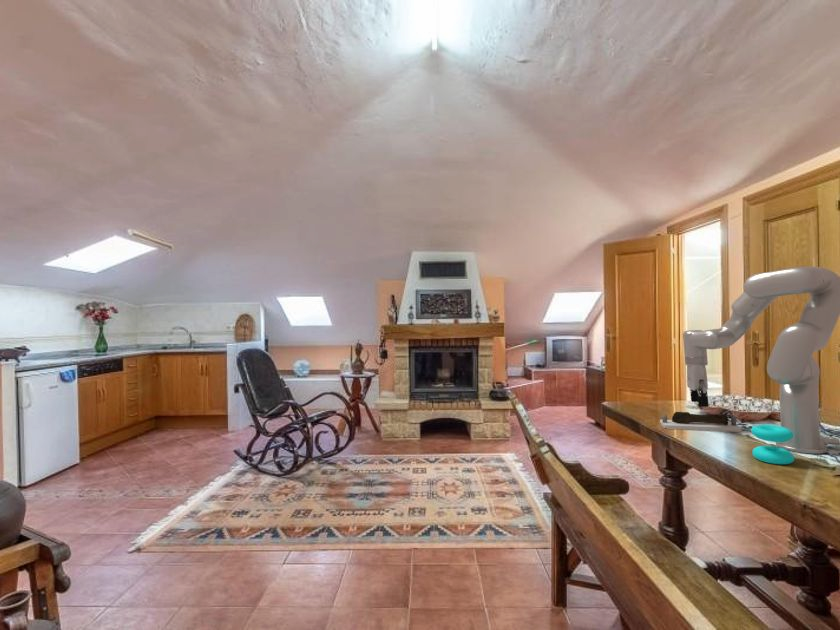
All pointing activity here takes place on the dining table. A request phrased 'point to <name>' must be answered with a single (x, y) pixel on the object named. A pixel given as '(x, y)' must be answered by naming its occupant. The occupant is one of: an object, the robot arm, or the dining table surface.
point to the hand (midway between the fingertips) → (699, 404)
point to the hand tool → (699, 418)
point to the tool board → (701, 425)
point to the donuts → (772, 452)
